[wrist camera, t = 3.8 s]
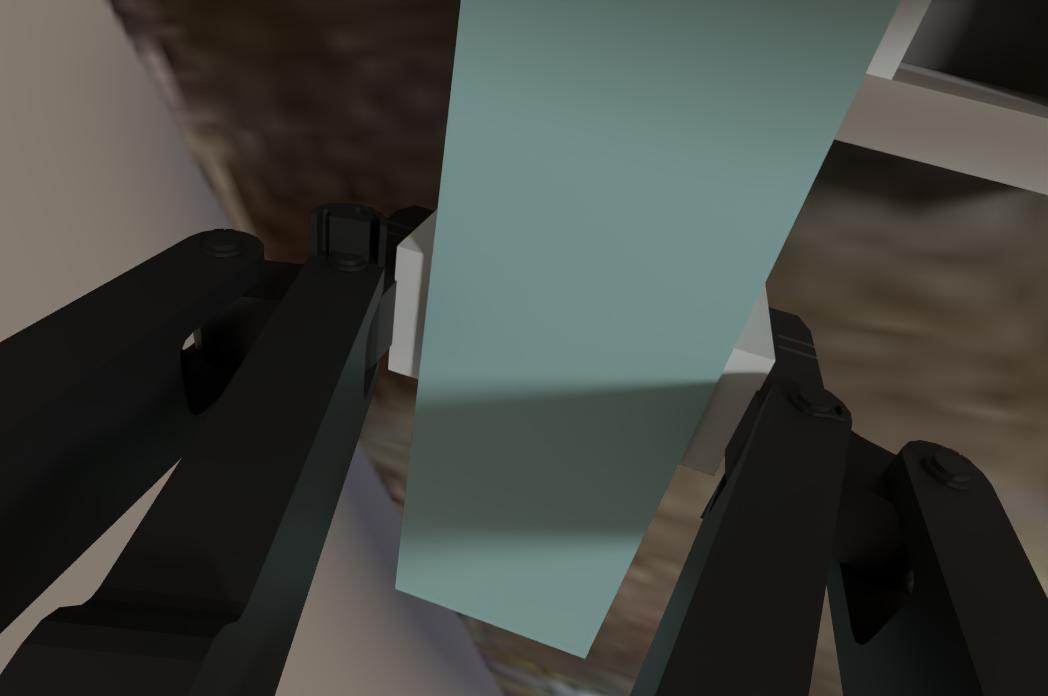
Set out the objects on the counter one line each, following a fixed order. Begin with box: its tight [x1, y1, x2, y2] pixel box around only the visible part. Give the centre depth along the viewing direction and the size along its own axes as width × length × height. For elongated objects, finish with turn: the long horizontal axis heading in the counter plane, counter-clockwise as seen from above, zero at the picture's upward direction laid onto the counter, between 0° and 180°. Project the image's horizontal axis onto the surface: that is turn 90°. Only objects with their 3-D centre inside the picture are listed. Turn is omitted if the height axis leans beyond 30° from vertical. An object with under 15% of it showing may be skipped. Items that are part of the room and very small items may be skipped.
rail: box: [395, 0, 901, 659], centre depth 16 cm, size 16×5×13 cm, turn 169°
